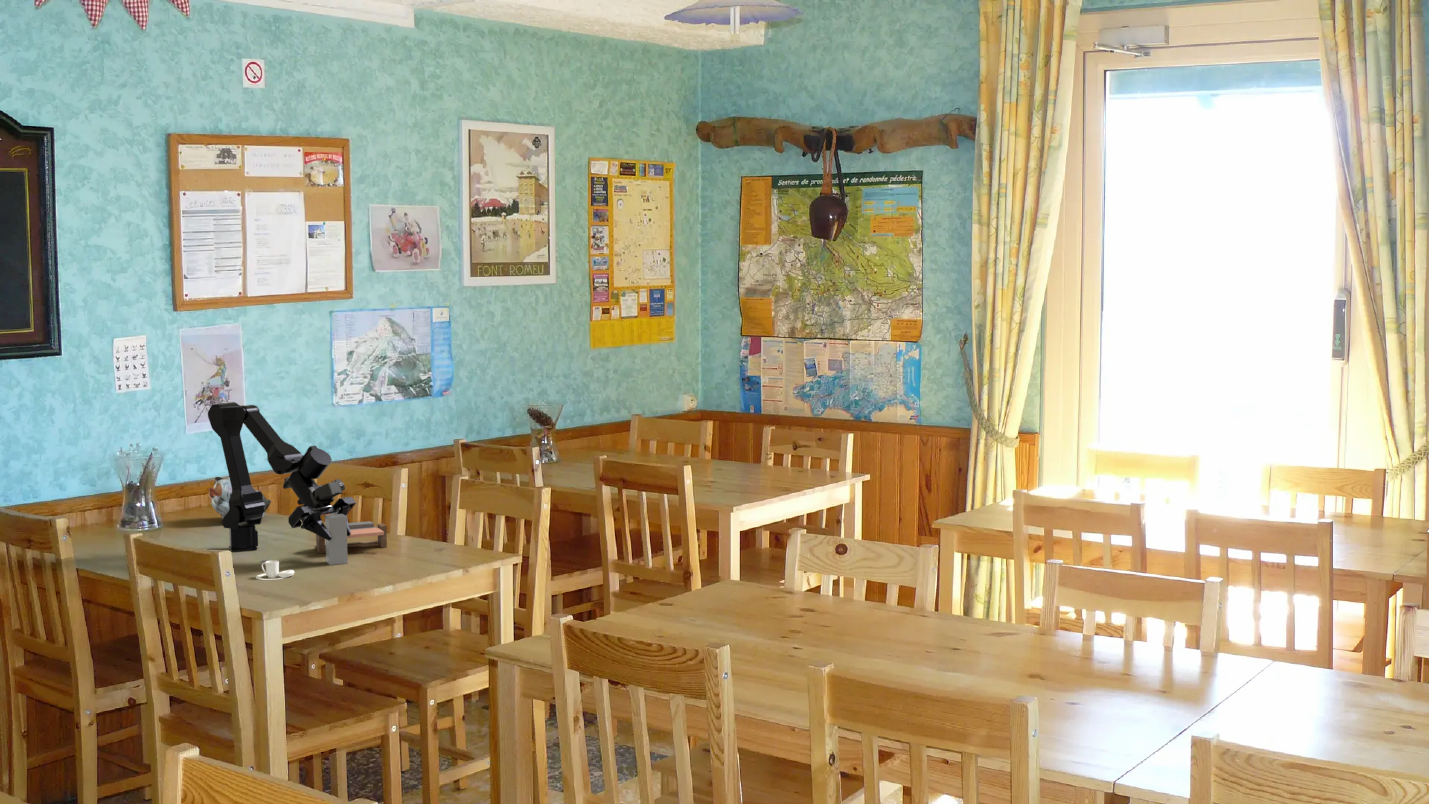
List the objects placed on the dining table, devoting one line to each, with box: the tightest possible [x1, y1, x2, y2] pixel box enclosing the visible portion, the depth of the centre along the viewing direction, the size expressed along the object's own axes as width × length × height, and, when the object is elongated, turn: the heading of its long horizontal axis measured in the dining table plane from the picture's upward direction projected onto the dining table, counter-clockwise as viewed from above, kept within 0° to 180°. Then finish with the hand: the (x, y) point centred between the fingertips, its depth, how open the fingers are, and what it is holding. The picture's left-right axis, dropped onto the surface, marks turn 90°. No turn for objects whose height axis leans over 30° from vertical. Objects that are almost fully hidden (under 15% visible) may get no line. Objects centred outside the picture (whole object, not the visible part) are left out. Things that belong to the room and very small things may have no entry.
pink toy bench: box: [314, 523, 388, 554], centre depth 358 cm, size 18×7×6 cm, turn 117°
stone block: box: [324, 514, 349, 566], centre depth 340 cm, size 4×4×12 cm
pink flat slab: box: [347, 520, 384, 539], centre depth 355 cm, size 14×11×3 cm
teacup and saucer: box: [255, 560, 295, 581], centre depth 324 cm, size 9×8×4 cm
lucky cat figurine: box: [208, 476, 272, 519], centre depth 396 cm, size 17×14×16 cm
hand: (340, 537), depth 339 cm, fingers closed on stone block, 6 cm apart
